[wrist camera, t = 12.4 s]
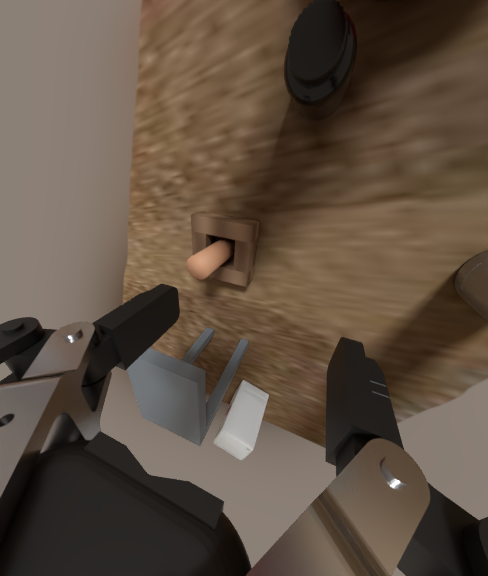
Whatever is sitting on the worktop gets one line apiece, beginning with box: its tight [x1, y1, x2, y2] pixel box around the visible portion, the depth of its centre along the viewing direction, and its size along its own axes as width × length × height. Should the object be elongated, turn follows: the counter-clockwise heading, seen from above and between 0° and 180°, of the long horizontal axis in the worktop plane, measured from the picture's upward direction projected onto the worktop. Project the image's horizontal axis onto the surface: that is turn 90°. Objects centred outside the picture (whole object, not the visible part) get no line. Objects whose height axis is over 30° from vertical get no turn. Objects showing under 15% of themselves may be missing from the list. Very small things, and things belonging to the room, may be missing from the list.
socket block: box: [191, 211, 260, 287], centre depth 40 cm, size 12×12×4 cm
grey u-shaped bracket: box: [127, 327, 249, 446], centre depth 41 cm, size 12×17×24 cm
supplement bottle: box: [284, 0, 357, 120], centre depth 22 cm, size 7×7×12 cm
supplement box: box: [213, 380, 269, 460], centre depth 56 cm, size 9×9×15 cm
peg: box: [187, 238, 235, 280], centre depth 37 cm, size 4×4×12 cm
